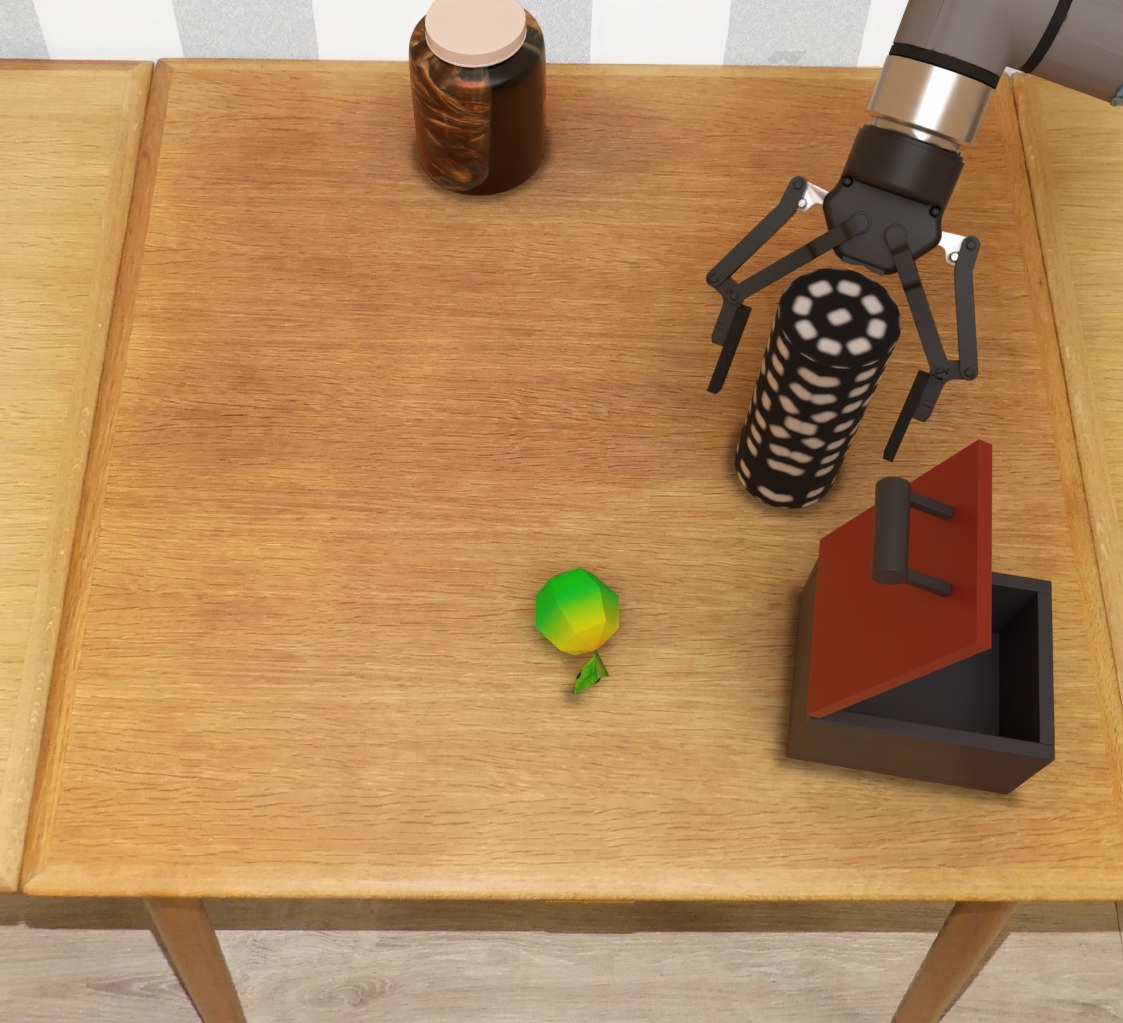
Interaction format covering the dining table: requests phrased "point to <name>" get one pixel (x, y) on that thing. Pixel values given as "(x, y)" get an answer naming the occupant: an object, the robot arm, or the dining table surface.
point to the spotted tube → (815, 384)
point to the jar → (479, 94)
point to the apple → (578, 618)
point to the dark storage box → (946, 704)
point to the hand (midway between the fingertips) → (799, 423)
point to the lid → (905, 584)
